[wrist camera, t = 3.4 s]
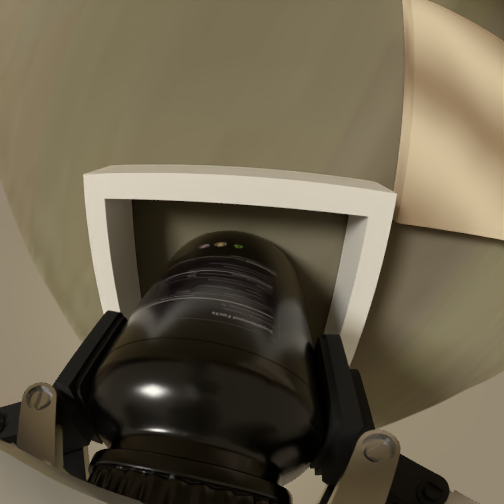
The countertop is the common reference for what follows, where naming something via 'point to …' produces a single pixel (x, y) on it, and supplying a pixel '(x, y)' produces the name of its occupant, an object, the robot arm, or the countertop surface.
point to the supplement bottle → (211, 381)
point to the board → (451, 124)
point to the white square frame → (248, 193)
